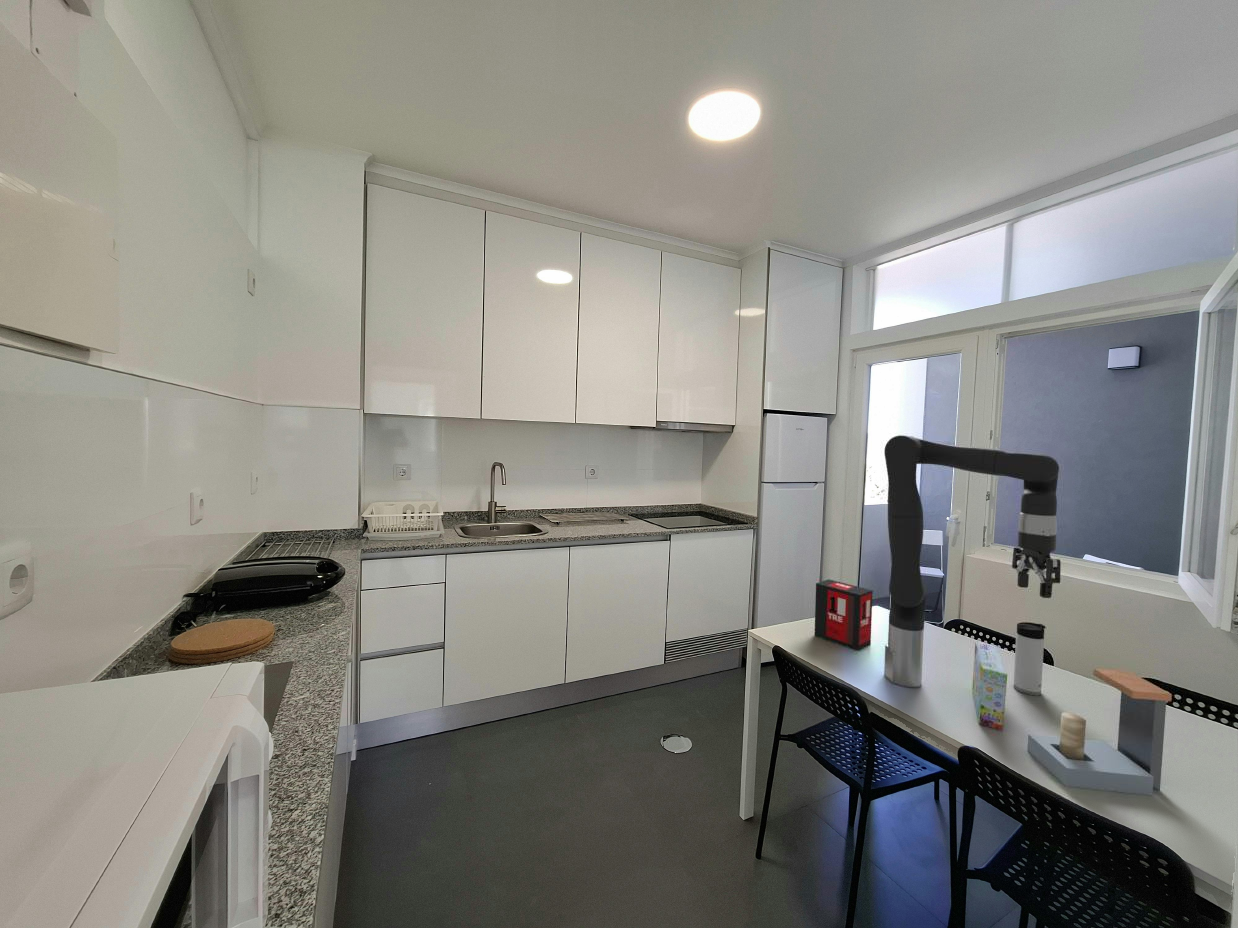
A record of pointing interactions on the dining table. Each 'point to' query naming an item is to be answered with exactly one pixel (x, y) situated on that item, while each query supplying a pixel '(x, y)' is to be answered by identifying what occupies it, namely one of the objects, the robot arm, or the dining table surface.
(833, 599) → the cleaning product box
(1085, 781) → the socket block
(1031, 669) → the travel mug
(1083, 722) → the peg
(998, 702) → the snack box
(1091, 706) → the dining table surface
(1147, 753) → the orange-capped grey pillar
